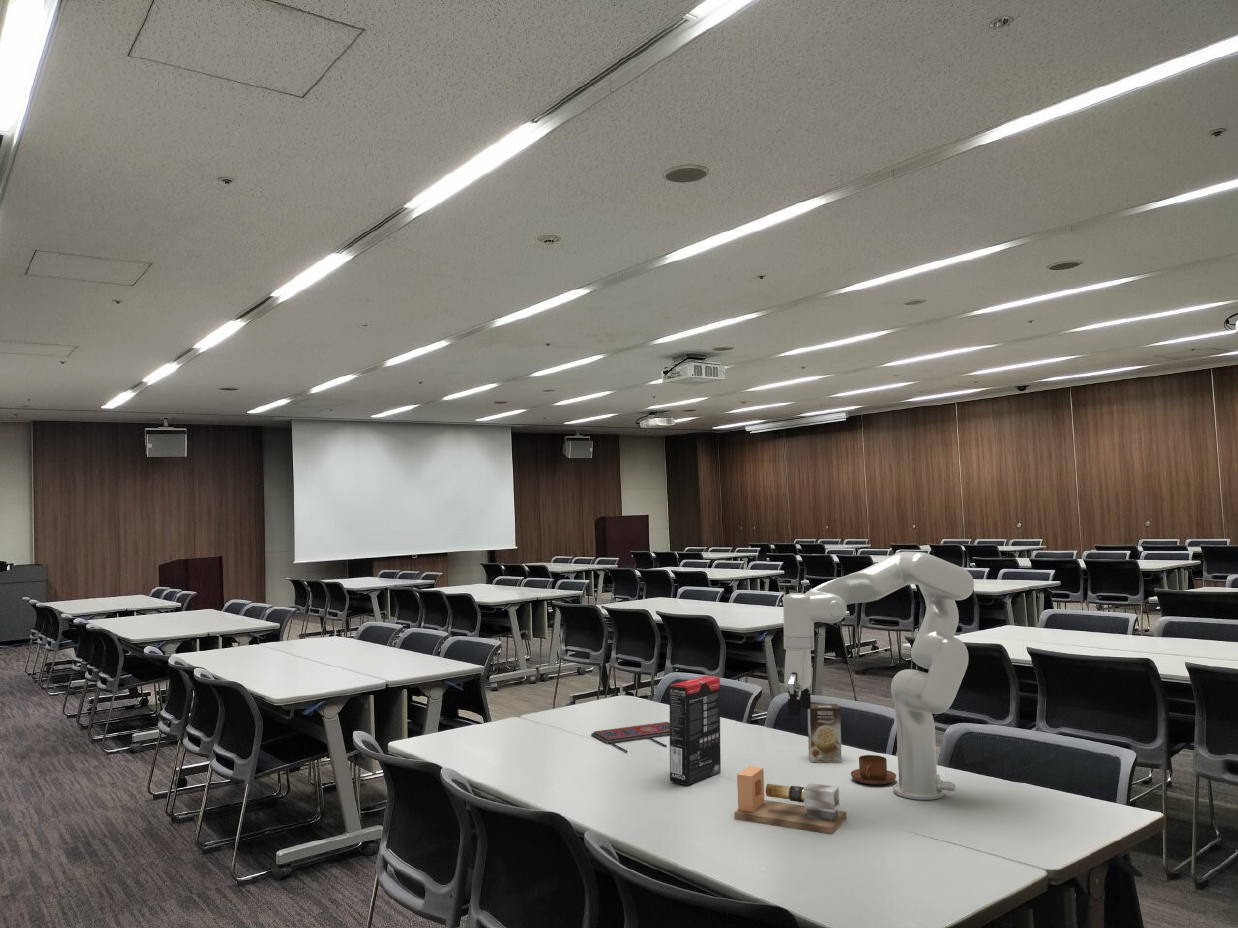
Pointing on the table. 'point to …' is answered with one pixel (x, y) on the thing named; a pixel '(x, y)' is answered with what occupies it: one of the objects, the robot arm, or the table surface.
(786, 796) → the brass tube
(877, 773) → the cup and saucer
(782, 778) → the table surface
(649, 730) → the sign
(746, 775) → the socket
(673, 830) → the table surface
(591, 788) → the table surface
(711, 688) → the graphics card box
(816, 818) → the rig
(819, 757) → the coffee box
